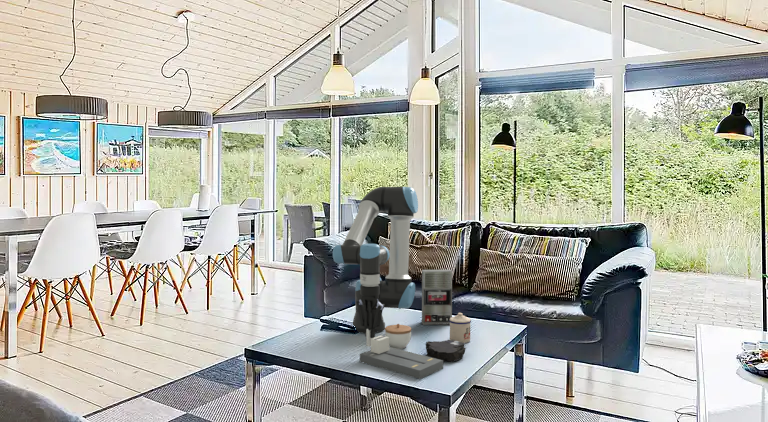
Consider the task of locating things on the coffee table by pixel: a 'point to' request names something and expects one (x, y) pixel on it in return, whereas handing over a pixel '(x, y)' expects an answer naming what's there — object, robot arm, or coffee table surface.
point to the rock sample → (445, 350)
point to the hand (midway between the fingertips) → (370, 345)
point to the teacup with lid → (460, 328)
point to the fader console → (403, 362)
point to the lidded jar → (398, 335)
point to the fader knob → (379, 344)
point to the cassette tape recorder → (436, 296)
